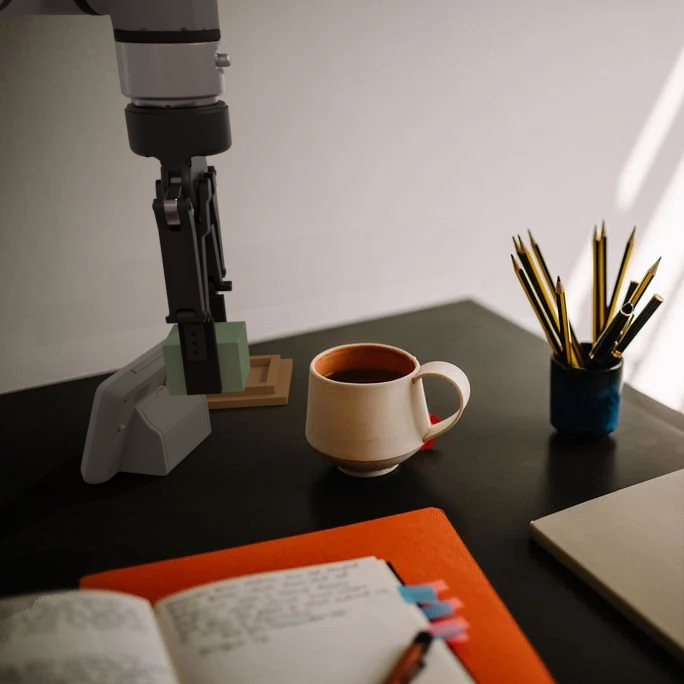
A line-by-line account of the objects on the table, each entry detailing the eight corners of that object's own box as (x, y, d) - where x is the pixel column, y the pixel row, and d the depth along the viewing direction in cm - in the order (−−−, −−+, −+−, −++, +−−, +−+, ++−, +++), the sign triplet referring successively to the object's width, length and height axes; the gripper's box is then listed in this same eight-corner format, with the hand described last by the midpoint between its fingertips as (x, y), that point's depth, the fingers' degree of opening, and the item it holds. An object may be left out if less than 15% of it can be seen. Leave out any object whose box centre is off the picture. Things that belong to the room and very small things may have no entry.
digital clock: (175, 410, 99) (162, 318, 95) (243, 424, 95) (233, 331, 91) (55, 481, 85) (33, 377, 81) (130, 501, 81) (111, 394, 77)
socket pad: (174, 411, 98) (171, 395, 97) (190, 371, 108) (188, 355, 108) (287, 404, 100) (285, 388, 99) (293, 365, 110) (291, 350, 109)
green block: (169, 395, 75) (161, 345, 73) (180, 371, 80) (173, 323, 78) (243, 391, 76) (238, 342, 74) (250, 368, 80) (245, 320, 79)
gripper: (208, 116, 61) (242, 424, 70) (241, 86, 78) (265, 338, 86) (91, 117, 60) (140, 429, 69) (150, 86, 77) (184, 341, 85)
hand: (210, 378), depth 78 cm, fingers closed on green block, 5 cm apart
